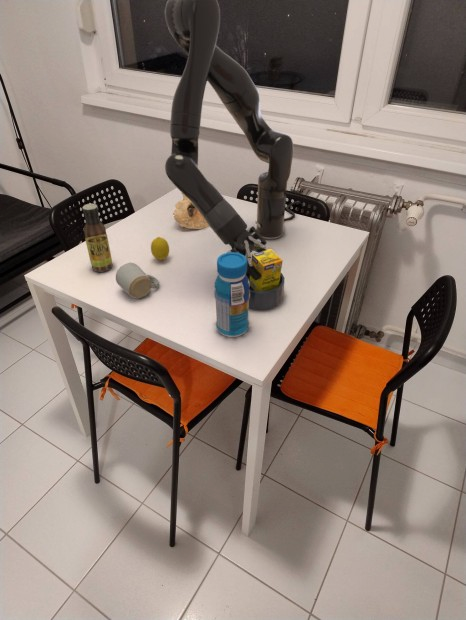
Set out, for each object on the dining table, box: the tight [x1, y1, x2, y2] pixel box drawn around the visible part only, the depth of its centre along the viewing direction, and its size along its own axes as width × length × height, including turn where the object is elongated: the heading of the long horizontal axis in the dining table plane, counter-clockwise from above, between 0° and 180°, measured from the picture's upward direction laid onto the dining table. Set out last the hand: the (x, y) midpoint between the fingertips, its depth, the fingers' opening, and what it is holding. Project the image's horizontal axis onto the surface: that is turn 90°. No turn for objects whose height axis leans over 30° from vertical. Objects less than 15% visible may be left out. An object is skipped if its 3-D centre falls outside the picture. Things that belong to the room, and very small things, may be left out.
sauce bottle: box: [82, 203, 113, 273], centre depth 116 cm, size 6×6×20 cm
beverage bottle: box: [213, 252, 250, 338], centre depth 94 cm, size 8×8×20 cm
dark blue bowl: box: [246, 272, 286, 312], centre depth 108 cm, size 13×13×6 cm
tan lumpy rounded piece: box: [172, 191, 210, 230], centre depth 145 cm, size 18×14×8 cm
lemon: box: [150, 236, 170, 261], centre depth 123 cm, size 6×6×8 cm
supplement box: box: [249, 248, 284, 292], centre depth 105 cm, size 6×6×11 cm
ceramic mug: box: [115, 262, 160, 299], centre depth 110 cm, size 11×8×8 cm
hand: (264, 270), depth 104 cm, fingers closed on supplement box, 8 cm apart
